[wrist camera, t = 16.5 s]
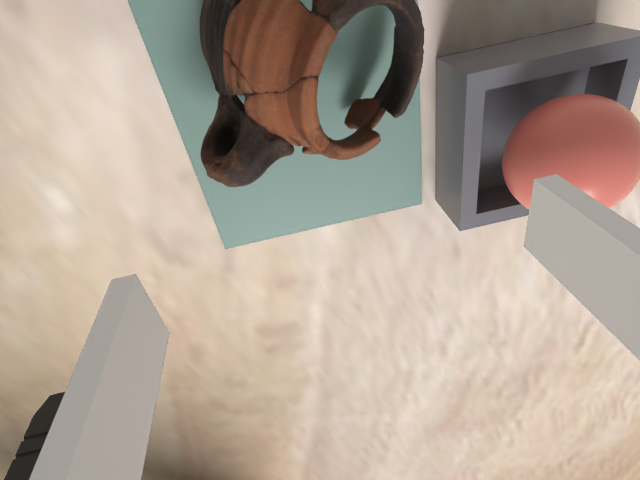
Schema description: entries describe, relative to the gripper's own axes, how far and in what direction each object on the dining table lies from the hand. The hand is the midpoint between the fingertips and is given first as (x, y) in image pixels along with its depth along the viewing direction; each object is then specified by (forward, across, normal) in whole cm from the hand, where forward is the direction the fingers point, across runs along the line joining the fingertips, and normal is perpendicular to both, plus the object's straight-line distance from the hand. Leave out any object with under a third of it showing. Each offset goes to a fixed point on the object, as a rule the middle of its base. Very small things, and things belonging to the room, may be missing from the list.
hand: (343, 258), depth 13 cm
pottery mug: (+13, 0, +4) cm, 13 cm away
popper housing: (+13, +13, -2) cm, 19 cm away
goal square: (+13, 0, 0) cm, 13 cm away
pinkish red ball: (+10, +13, -3) cm, 17 cm away
